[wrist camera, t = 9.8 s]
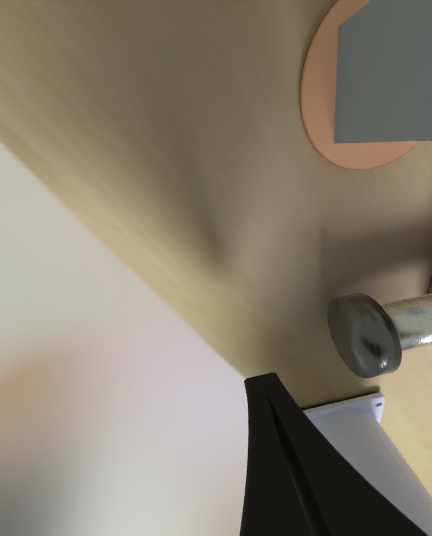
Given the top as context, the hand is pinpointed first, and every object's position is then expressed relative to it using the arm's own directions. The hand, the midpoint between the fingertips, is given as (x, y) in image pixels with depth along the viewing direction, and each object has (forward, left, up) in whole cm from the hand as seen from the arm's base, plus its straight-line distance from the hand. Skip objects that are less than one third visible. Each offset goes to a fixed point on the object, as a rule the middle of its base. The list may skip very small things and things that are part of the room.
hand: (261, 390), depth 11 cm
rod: (0, -9, -4) cm, 10 cm away
